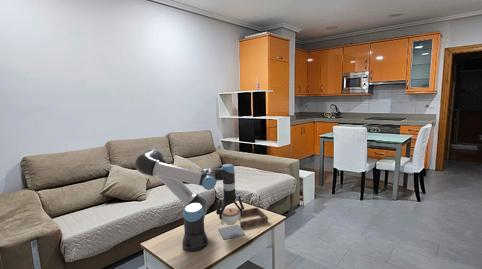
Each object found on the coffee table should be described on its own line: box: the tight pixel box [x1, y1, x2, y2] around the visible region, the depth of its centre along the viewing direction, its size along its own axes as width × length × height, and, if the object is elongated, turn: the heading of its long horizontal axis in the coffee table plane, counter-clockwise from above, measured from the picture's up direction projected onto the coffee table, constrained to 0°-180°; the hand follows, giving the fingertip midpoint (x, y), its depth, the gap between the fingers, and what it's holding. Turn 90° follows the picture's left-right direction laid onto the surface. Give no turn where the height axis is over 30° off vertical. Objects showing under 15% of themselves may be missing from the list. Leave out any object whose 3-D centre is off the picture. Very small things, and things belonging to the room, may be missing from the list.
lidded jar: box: [222, 207, 239, 226], centre depth 171 cm, size 11×11×9 cm
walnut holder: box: [239, 207, 269, 229], centre depth 189 cm, size 20×17×4 cm
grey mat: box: [217, 224, 246, 241], centre depth 173 cm, size 14×14×1 cm
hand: (230, 222), depth 172 cm, fingers closed on lidded jar, 11 cm apart
